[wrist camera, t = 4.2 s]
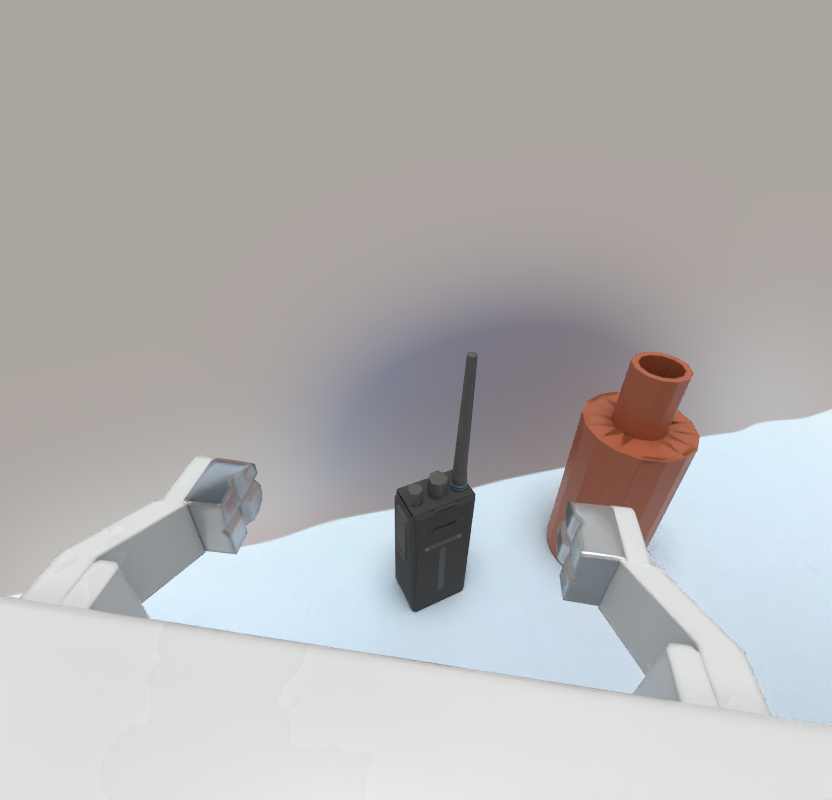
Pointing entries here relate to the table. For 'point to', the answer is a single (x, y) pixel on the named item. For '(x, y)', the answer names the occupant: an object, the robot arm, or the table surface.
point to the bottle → (631, 445)
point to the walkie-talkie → (437, 520)
